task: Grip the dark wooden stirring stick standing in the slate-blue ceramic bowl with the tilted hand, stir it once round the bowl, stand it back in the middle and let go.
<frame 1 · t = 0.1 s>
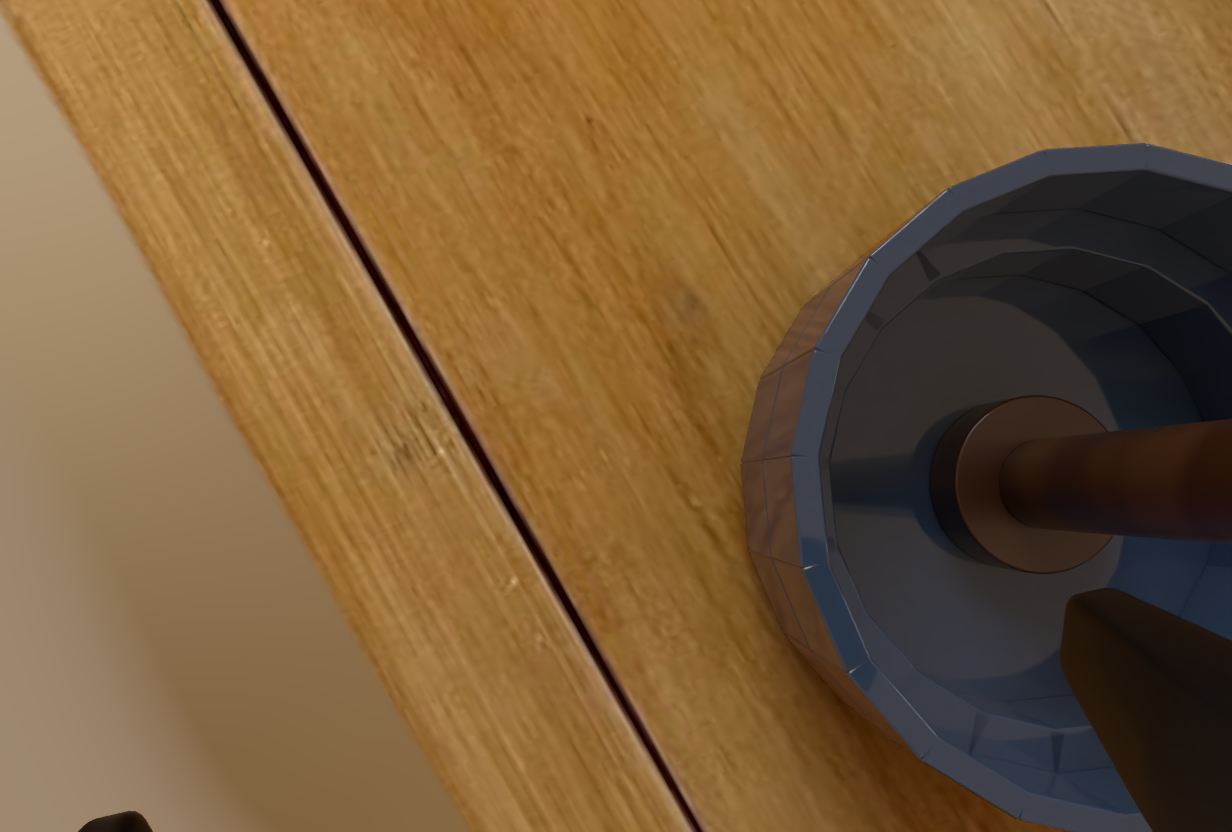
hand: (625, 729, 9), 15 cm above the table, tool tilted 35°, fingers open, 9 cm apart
bowl: (1000, 484, 25), on the table
stirring stick: (1010, 484, 24), point 1 cm above the table, touching bowl
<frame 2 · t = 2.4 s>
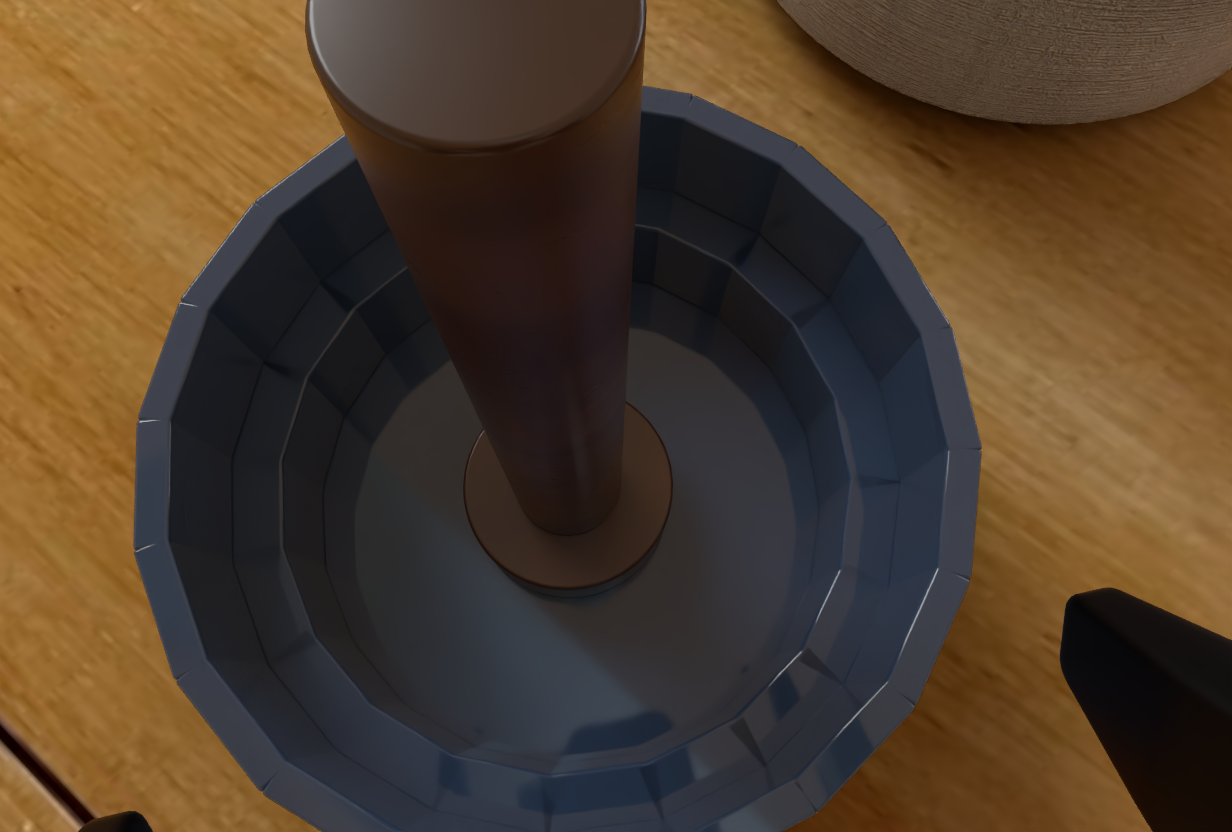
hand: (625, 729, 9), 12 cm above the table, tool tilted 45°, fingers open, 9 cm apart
bowl: (572, 504, 21), on the table
stirring stick: (571, 498, 21), point 1 cm above the table, touching bowl
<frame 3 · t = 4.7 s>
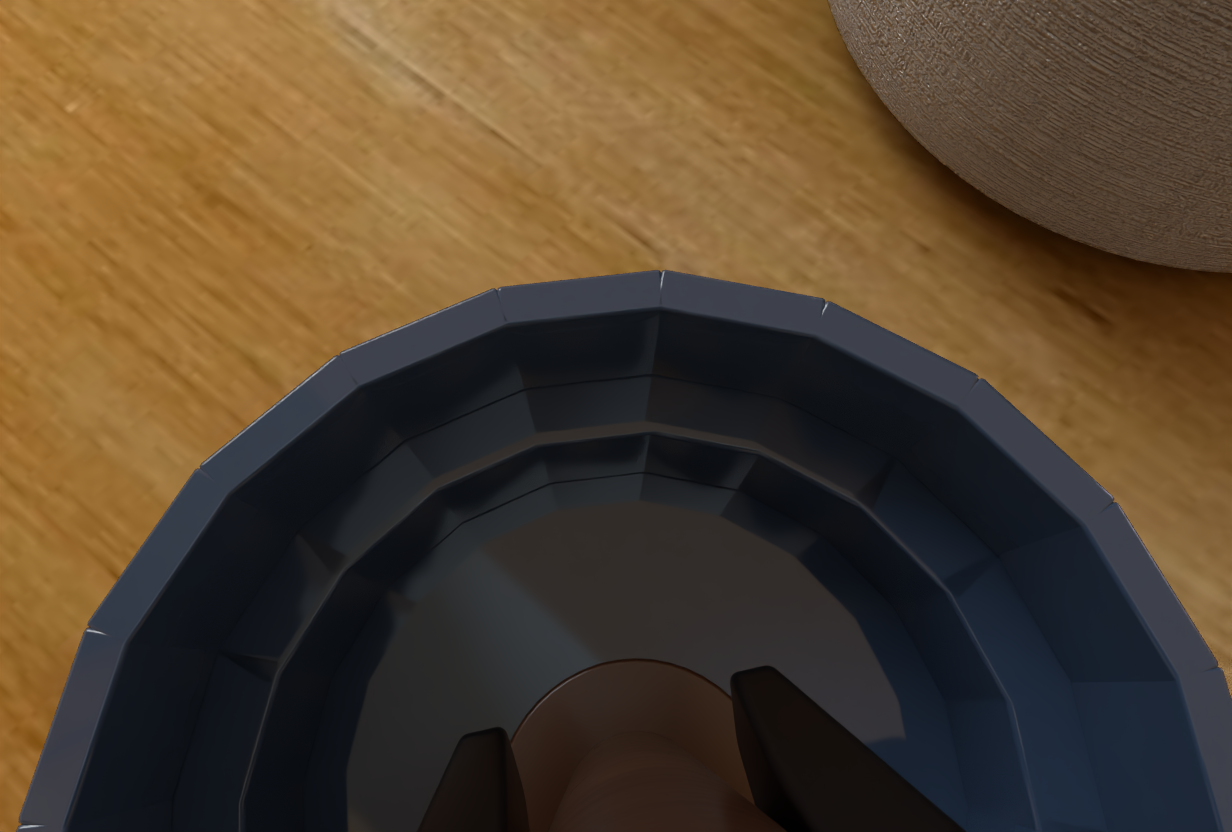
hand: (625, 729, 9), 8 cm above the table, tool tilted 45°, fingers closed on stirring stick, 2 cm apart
bowl: (633, 791, 16), on the table
stirring stick: (634, 795, 16), point 1 cm above the table, touching bowl, gripper
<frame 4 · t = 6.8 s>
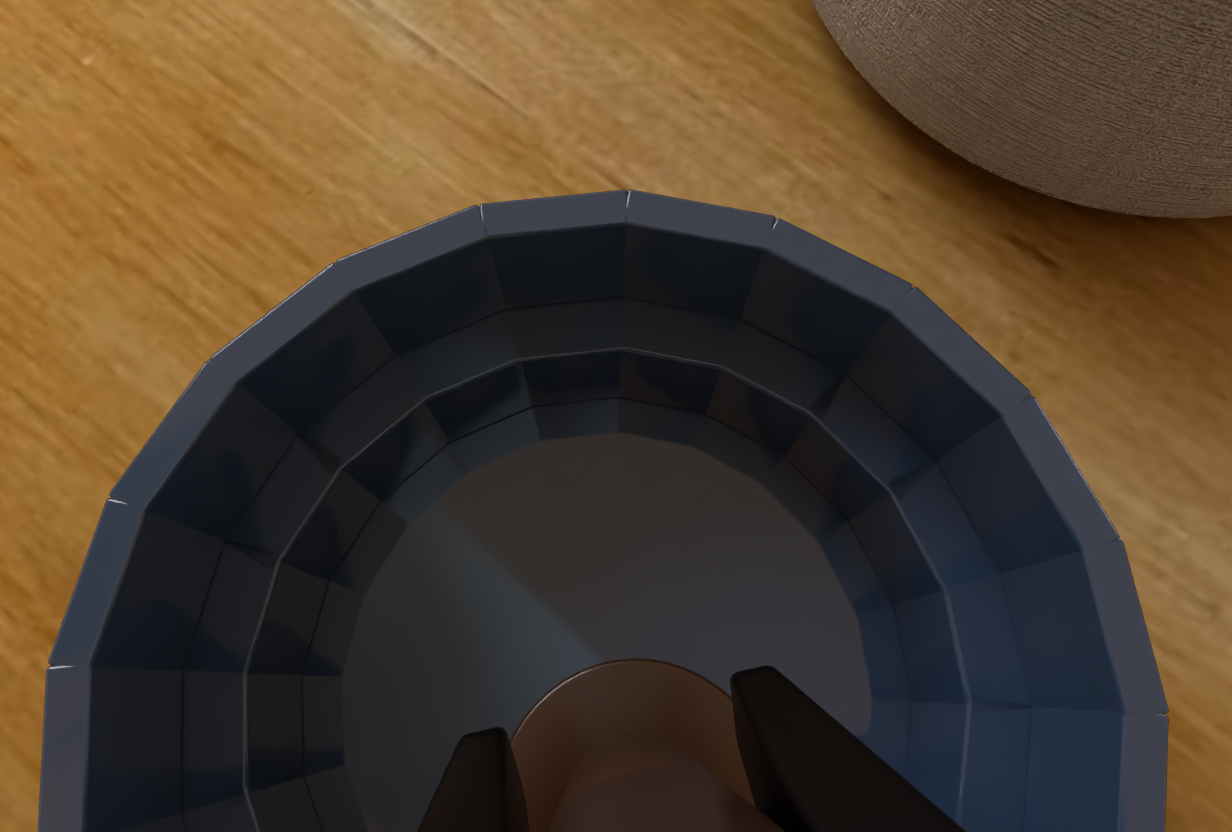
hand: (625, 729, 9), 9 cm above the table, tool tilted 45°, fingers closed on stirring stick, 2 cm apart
bowl: (606, 688, 18), on the table
stirring stick: (634, 795, 16), point 1 cm above the table, touching gripper
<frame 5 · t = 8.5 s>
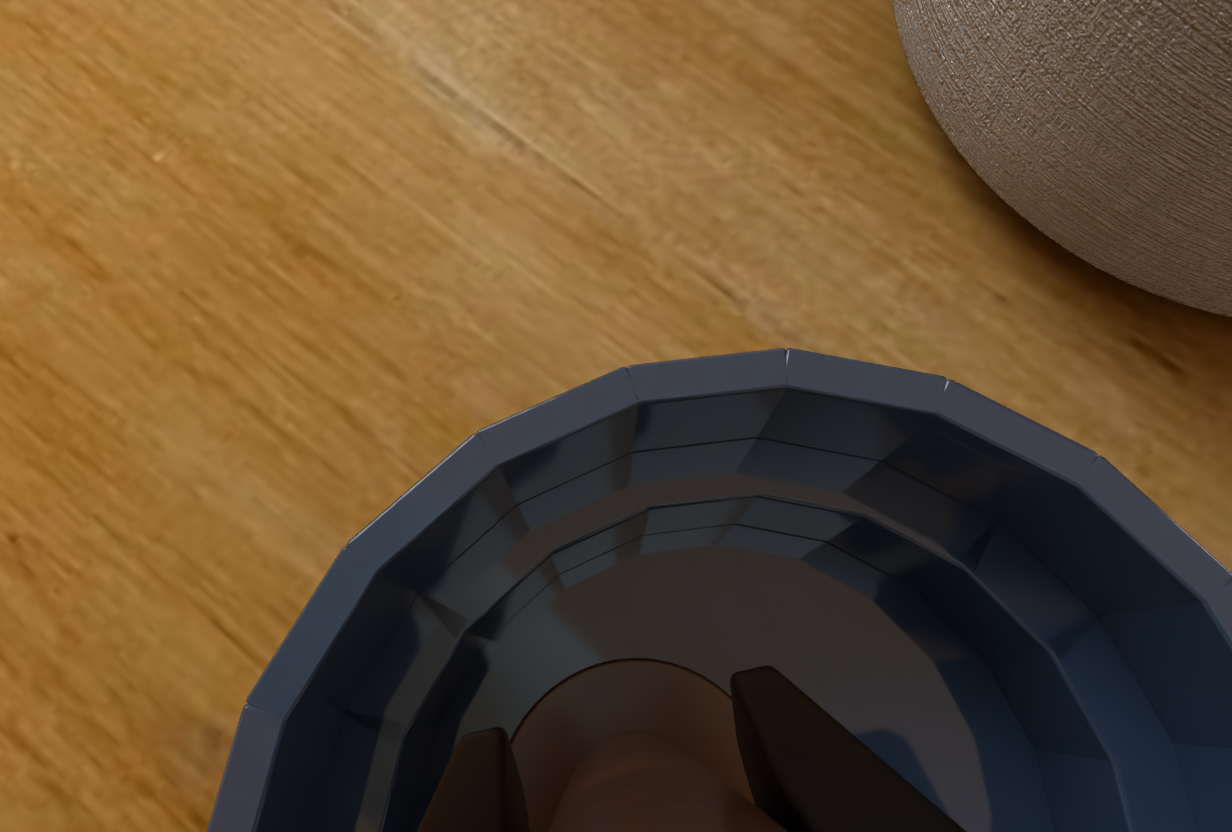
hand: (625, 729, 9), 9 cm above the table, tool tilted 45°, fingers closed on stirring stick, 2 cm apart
planter: (1210, 31, 22), on the table
stirring stick: (634, 795, 16), point 1 cm above the table, touching gripper
when the fingers open (8 cm above the table, at t = 9.3 s): stirring stick stays where it is, resting on bowl.
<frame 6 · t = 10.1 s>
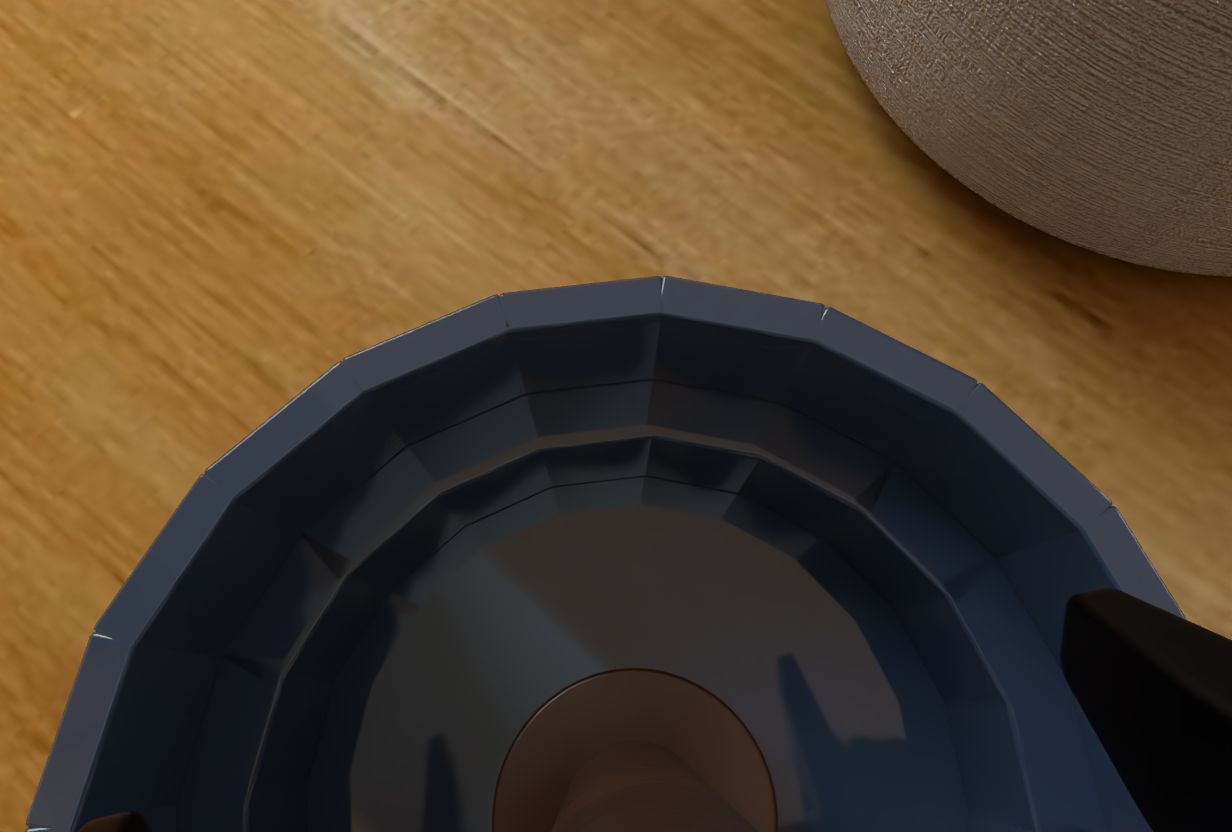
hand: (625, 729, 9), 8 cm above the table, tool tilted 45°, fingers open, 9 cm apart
bowl: (635, 793, 16), on the table
stirring stick: (632, 804, 16), point 1 cm above the table, touching bowl
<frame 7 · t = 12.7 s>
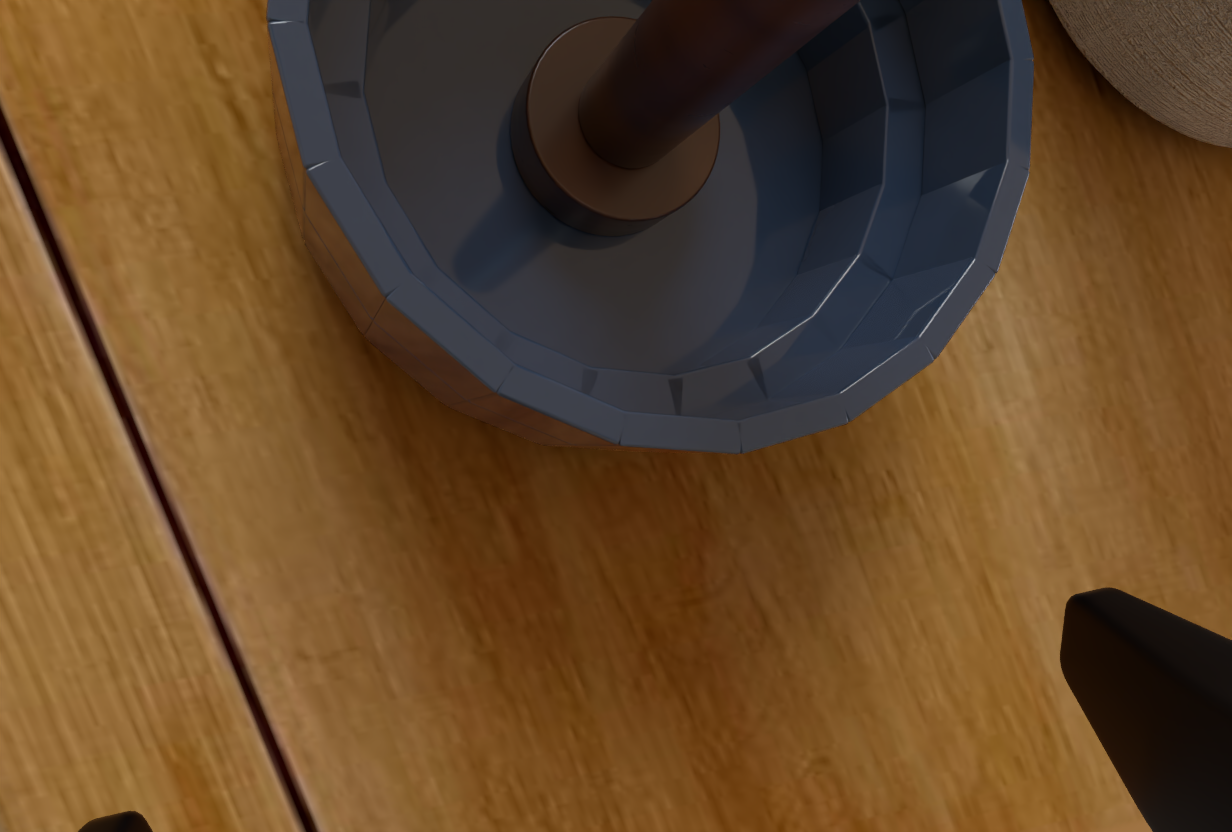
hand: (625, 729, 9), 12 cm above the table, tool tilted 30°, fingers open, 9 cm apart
bowl: (600, 147, 22), on the table
stirring stick: (604, 141, 21), point 1 cm above the table, touching bowl
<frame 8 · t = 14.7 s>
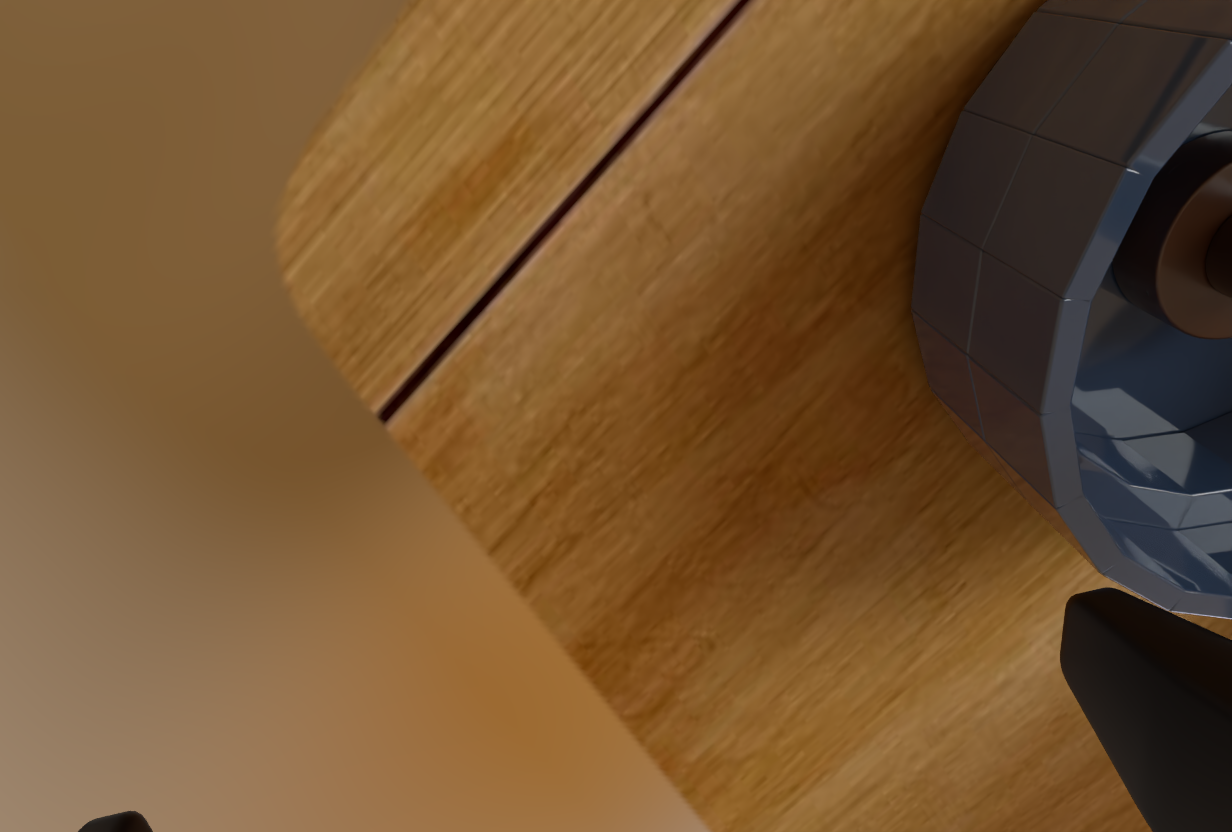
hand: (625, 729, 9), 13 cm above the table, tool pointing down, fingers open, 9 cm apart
bowl: (1184, 222, 22), on the table
stirring stick: (1199, 227, 22), point 1 cm above the table, touching bowl
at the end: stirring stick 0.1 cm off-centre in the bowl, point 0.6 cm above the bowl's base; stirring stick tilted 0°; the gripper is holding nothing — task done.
